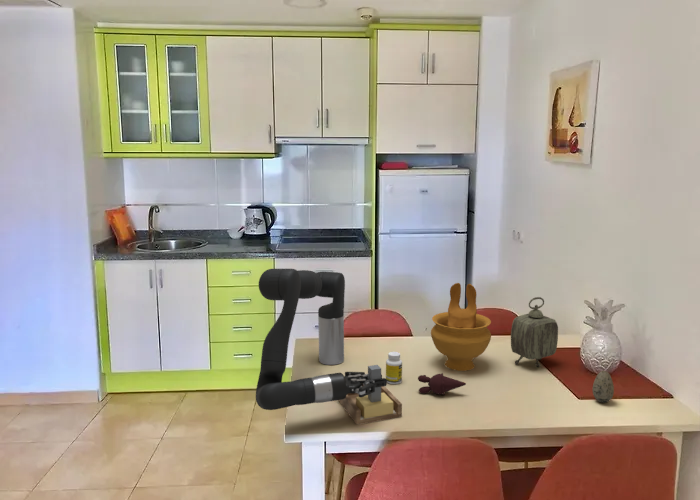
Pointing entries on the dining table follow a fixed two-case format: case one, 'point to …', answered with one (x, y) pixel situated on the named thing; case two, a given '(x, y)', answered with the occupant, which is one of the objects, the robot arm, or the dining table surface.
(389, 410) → the block with grey post
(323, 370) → the dining table surface
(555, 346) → the tabletop clock
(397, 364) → the supplement bottle
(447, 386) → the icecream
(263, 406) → the robot arm
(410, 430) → the dining table surface
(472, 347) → the decorative bowl
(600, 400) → the decorative egg
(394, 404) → the bay
